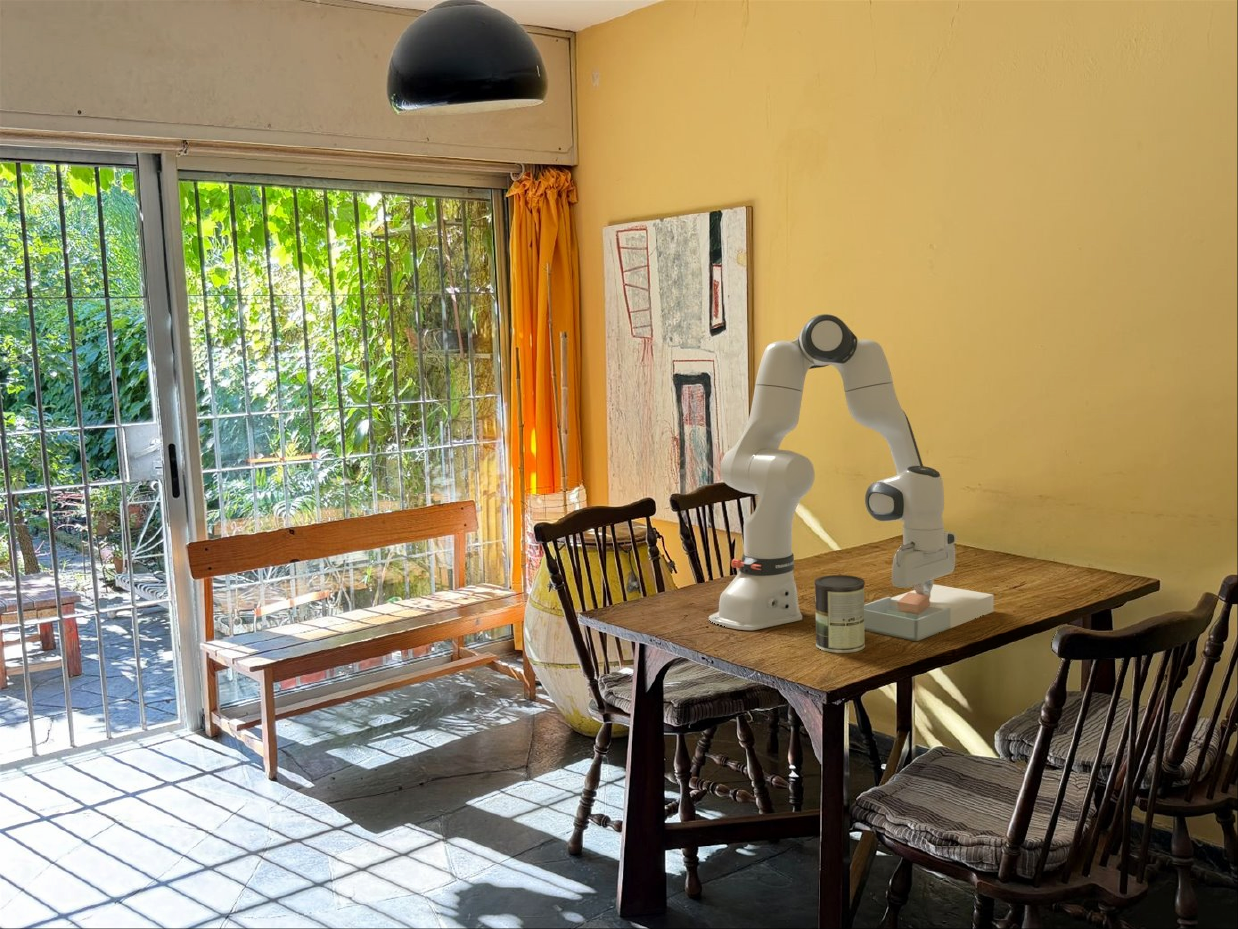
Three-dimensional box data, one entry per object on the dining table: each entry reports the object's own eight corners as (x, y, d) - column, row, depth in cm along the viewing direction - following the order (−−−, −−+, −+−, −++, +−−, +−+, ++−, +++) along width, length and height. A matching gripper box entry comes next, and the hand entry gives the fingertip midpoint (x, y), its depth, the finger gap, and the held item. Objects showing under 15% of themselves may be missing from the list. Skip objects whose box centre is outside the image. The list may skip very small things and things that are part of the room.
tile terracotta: (918, 614, 248) (917, 604, 248) (898, 611, 252) (897, 601, 251) (930, 605, 252) (928, 595, 251) (910, 601, 255) (908, 592, 255)
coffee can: (806, 648, 237) (805, 582, 236) (830, 636, 245) (829, 572, 243) (850, 656, 231) (849, 588, 229) (874, 643, 239) (873, 578, 237)
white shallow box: (950, 628, 248) (950, 610, 247) (888, 615, 260) (888, 598, 259) (993, 611, 260) (993, 594, 259) (932, 600, 272) (932, 584, 271)
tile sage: (918, 615, 249) (916, 626, 249) (899, 611, 253) (897, 622, 252) (906, 612, 246) (904, 623, 245) (886, 609, 249) (884, 619, 249)
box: (916, 641, 239) (916, 620, 239) (854, 627, 251) (854, 608, 250) (950, 628, 248) (950, 608, 247) (888, 615, 260) (888, 596, 259)
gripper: (909, 548, 243) (909, 611, 245) (960, 533, 257) (960, 593, 259) (884, 545, 248) (884, 606, 250) (935, 530, 262) (935, 589, 264)
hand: (923, 599), depth 255 cm, fingers closed
